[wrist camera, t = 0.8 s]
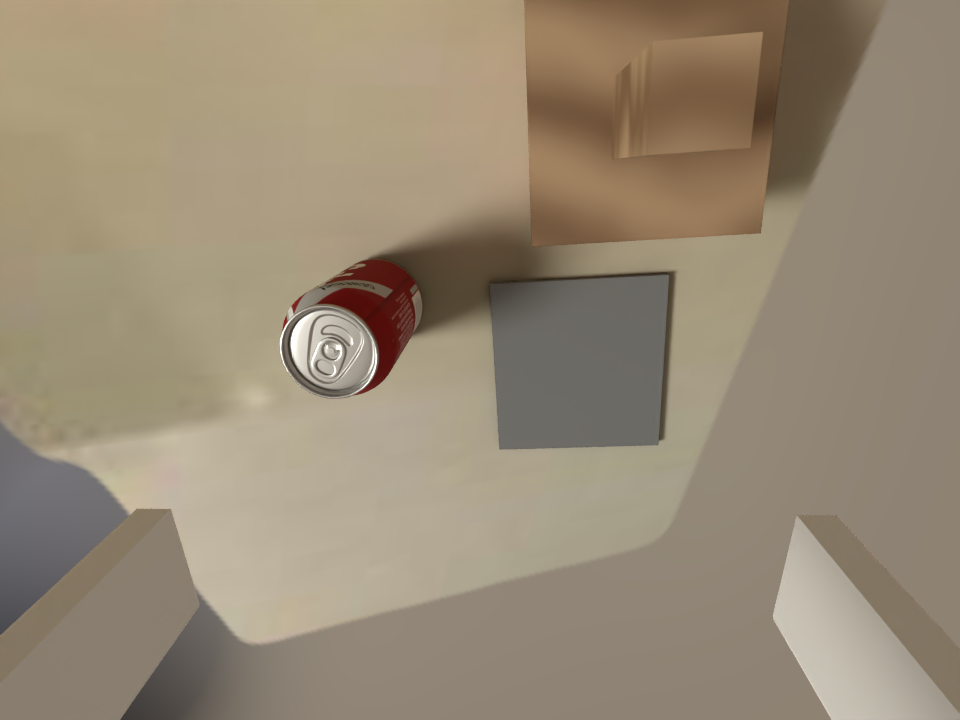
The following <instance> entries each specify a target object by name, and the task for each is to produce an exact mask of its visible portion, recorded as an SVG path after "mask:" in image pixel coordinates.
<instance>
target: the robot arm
mask: <svg viewBox="0 0 960 720" xmlns="http://www.w3.org/2000/svg"><path fill="white" fill-rule="evenodd" d="M199 606H200V604H199V601H198V598H197V594H196V591H195V587H194V584H193V581H192V578H191V574H190V571H189V568H188V564H187V561H186V558H185V554H184V551H183V548H182V544H181V541H180V538H179V535H178V531H177V528H176V525H175V521H174V518H173V515H172V511H171V509H136V510H135V511H134V512H133V513H132V514H131V515H130V516H129V517H128V518H127V519H126V520H124V521H123V522H122V523H121V524H120V525H119V526H118V527H117V528H116V529H115V530H114V531H113V532H112V533H111V534H109V535H108V536H107V537H106V538H105V539H104V540H103V541H102V542H101V543H100V544H99V545H97V546H96V547H95V548H94V549H93V550H92V551H91V552H90V553H89V554H88V555H87V556H86V557H85V558H83V559H82V560H81V561H80V562H79V563H78V564H77V565H76V566H75V567H74V568H73V569H72V570H71V571H69V572H68V573H67V574H66V575H65V576H64V577H63V578H62V579H61V580H60V581H59V582H58V583H57V584H56V585H54V586H53V587H52V588H51V589H50V590H49V591H48V592H47V593H46V594H45V595H44V596H43V597H42V598H40V599H39V600H38V601H37V602H36V603H35V604H34V605H33V606H32V607H31V608H30V609H28V610H27V611H26V612H25V613H24V614H23V615H22V616H21V617H20V618H19V619H18V620H17V621H15V622H14V623H13V624H12V625H11V626H10V627H9V628H8V629H7V630H6V631H5V632H4V633H3V634H1V635H0V720H120V718H121V717H122V716H123V714H124V713H125V712H126V710H127V709H128V707H129V706H130V704H131V703H132V702H133V700H134V699H135V697H136V696H137V694H138V693H139V692H140V690H141V689H142V687H143V686H144V684H145V683H146V682H147V680H148V679H149V677H150V676H151V674H152V673H153V672H154V670H155V669H156V667H157V666H158V664H159V663H160V661H161V660H162V658H163V657H164V656H165V654H166V653H167V652H168V650H169V649H170V647H171V646H172V644H173V643H174V642H175V640H176V639H177V637H178V636H179V634H180V633H181V632H182V630H183V629H184V627H185V626H186V624H187V623H188V622H189V620H190V619H191V617H192V616H193V614H194V613H195V612H196V610H197V609H198V607H199ZM773 619H774V621H775V623H776V624H777V626H778V628H779V629H780V632H781V633H782V635H783V636H784V638H785V640H786V642H787V644H788V645H789V647H790V649H791V650H792V652H793V654H794V656H795V657H796V659H797V661H798V662H799V664H800V666H801V668H802V669H803V671H804V673H805V675H806V676H807V678H808V680H809V681H810V683H811V685H812V687H813V688H814V690H815V692H816V694H817V695H818V697H819V699H820V700H821V702H822V704H823V706H824V707H825V709H826V711H827V712H828V714H829V716H830V718H831V719H832V720H960V648H959V647H958V646H957V645H956V643H955V642H954V641H953V640H952V639H951V638H950V637H949V636H948V635H947V634H946V633H945V632H944V631H943V629H942V628H941V627H940V626H939V625H938V624H937V623H936V622H935V621H934V620H933V619H932V618H931V617H930V616H929V614H927V612H926V611H925V610H924V609H923V608H922V607H921V606H920V605H919V604H918V603H917V602H916V601H915V600H914V598H913V597H912V596H911V595H910V594H909V593H908V592H907V591H906V590H905V589H904V588H903V587H902V585H901V584H900V583H899V582H898V581H897V580H896V579H895V578H894V577H893V576H892V575H891V574H890V573H889V572H888V570H887V569H886V568H885V567H884V566H883V565H882V564H881V563H880V562H879V561H878V560H877V559H876V558H875V557H874V555H873V554H872V553H871V552H870V551H869V550H868V549H867V548H866V547H865V546H864V545H863V544H862V543H861V542H860V540H859V539H858V538H857V537H856V536H855V535H854V534H853V533H852V532H851V531H850V530H849V529H848V527H846V526H845V524H844V523H843V522H842V521H841V520H840V519H839V518H838V517H837V516H823V515H822V516H821V515H820V516H819V515H814V516H813V515H797V517H796V521H795V525H794V530H793V534H792V538H791V543H790V546H789V551H788V555H787V559H786V563H785V567H784V572H783V576H782V580H781V584H780V588H779V593H778V597H777V601H776V605H775V610H774V614H773Z"/></svg>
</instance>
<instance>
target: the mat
mask: <svg viewBox="0 0 960 720" xmlns="http://www.w3.org/2000/svg"><path fill="white" fill-rule="evenodd" d="M668 286H669V274H667V273H663V274H644V275H625V276H607V277H588V278H569V279H551V280H532V281H513V282H495V283H490V298H491V315H492V332H493V348H494V365H495V382H496V398H497V415H498V432H499V448H500V450H501V449H536V448H572V447H607V446H643V445H658V443H659V428H660V412H661V396H662V381H663V365H664V349H665V334H666V318H667V302H668Z"/></svg>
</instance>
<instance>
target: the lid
mask: <svg viewBox="0 0 960 720" xmlns="http://www.w3.org/2000/svg"><path fill="white" fill-rule="evenodd" d="M788 7H789V0H524V8H525V41H526V74H527V107H528V141H529V174H530V207H531V240H532V247H534V246H551V245H568V244H585V243H602V242H619V241H636V240H653V239H670V238H687V237H704V236H721V235H738V234H756V233H761V227H762V219H763V210H764V202H765V194H766V186H767V178H768V170H769V162H770V154H771V145H772V137H773V129H774V121H775V113H776V105H777V97H778V89H779V80H780V72H781V64H782V56H783V48H784V40H785V32H786V24H787V15H788Z"/></svg>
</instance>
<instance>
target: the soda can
mask: <svg viewBox="0 0 960 720" xmlns="http://www.w3.org/2000/svg"><path fill="white" fill-rule="evenodd" d="M422 311H423V301H422V296H421V292H420V289H419V287H418V285H417V283H416V282H415V280H414V279H413V277H412V276H411V275H410V274H409V273H408V272H407V271H406V270H405V269H403V268H402V267H400V266H399V265H397V264H395V263H393V262H390V261H387V260H382V259H368V260H364V261H361V262H358V263H356V264H354V265H352V266H351V267H349V268H347V269H346V270H344V271H342V272H341V273H339V274H337V275H336V276H334V277H332V278H331V279H329V280H327V281H325V282H324V283H322V284H320V285H319V286H317V287H315V288H314V289H312V290H310V291H309V292H307V293H305V294H304V295H302V296H301V297H300V298H299V299H298V300H296V301H295V303H294V304H293V305H292V306H291V308H290V309H289V311H288V313H287V315H286V317H285V320H284V324H283V331H282V335H281V339H280V353H281V358H282V361H283V364H284V366H285V368H286V370H287V372H288V373H289V375H290V376H291V377H292V378H293V380H294V381H295V382H296V383H297V384H298V385H300V386H301V387H302V388H304V389H305V390H307V391H308V392H310V393H312V394H314V395H317V396H320V397H324V398H331V399H339V398H346V397H350V396H352V395H358V394H362V393H365V392H367V391H369V390H371V389H373V388H375V387H376V386H378V385H379V384H380V383H381V382H382V381H383V380H384V379H385V378H386V377H387V376H388V374H389V373H390V371H391V369H392V368H393V366H394V364H395V363H396V361H397V359H398V358H399V356H400V355H401V353H402V351H403V350H404V348H405V346H406V345H407V343H408V341H409V340H410V338H411V336H412V335H413V333H414V331H415V330H416V328H417V326H418V324H419V322H420V320H421V316H422Z"/></svg>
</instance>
